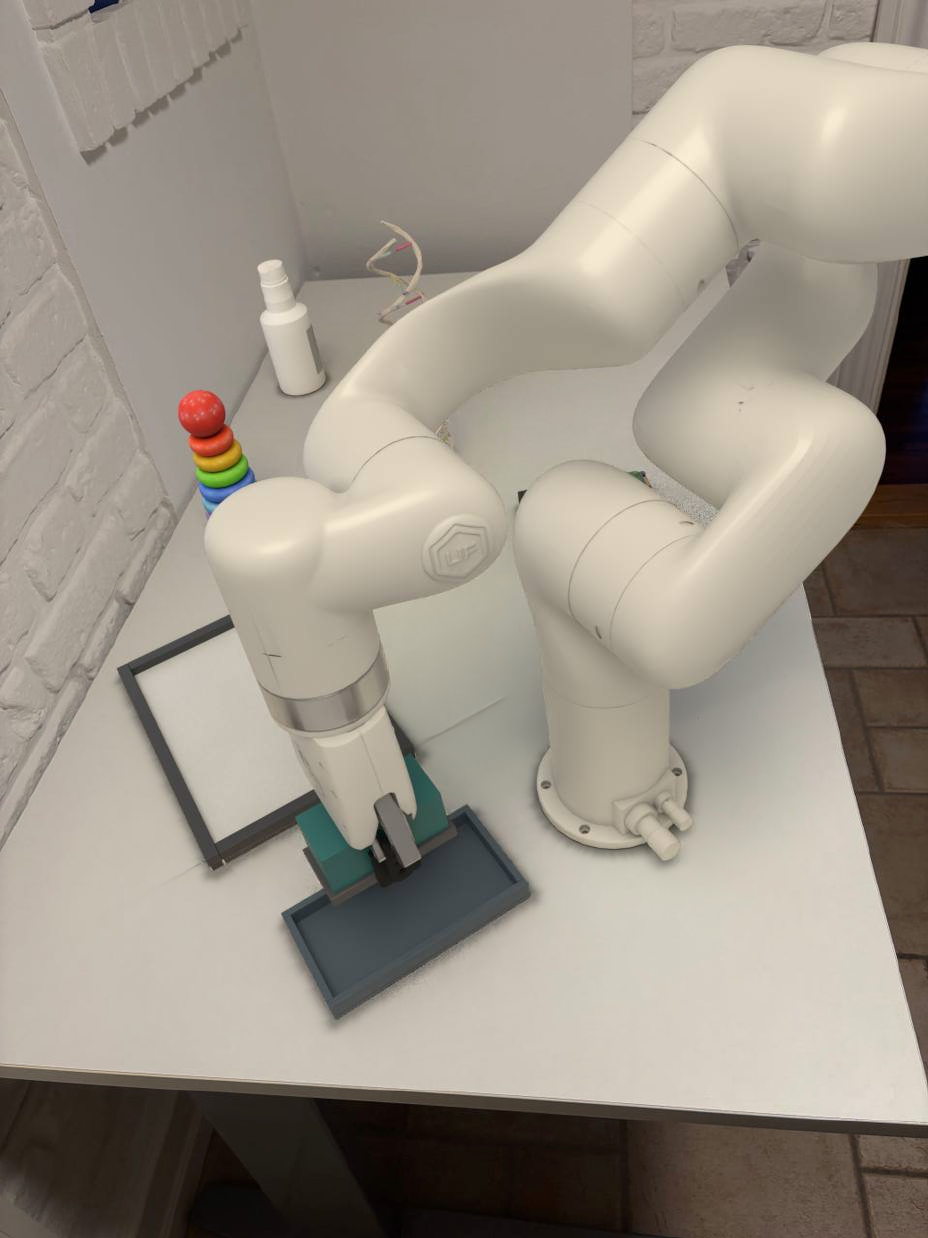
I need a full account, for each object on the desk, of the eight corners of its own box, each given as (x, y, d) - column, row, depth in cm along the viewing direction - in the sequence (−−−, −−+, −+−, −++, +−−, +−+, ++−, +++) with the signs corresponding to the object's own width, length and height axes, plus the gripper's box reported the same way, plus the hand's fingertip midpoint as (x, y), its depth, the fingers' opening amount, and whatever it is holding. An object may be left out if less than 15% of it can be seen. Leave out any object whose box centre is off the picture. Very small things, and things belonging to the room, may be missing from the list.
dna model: (466, 473, 118) (426, 230, 97) (417, 489, 117) (367, 247, 96) (448, 446, 123) (407, 210, 102) (401, 462, 122) (350, 226, 101)
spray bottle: (335, 376, 140) (304, 256, 128) (306, 399, 136) (272, 278, 124) (300, 368, 143) (267, 251, 131) (271, 391, 140) (234, 272, 127)
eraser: (334, 908, 66) (317, 868, 62) (305, 857, 69) (287, 816, 66) (458, 835, 69) (448, 793, 65) (424, 789, 72) (413, 747, 69)
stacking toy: (198, 541, 115) (141, 406, 102) (238, 502, 120) (188, 368, 107) (250, 554, 112) (197, 416, 99) (288, 514, 117) (243, 377, 104)
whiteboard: (416, 757, 86) (413, 745, 85) (212, 872, 81) (205, 860, 79) (295, 596, 105) (291, 584, 104) (122, 679, 99) (116, 668, 98)
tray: (530, 897, 75) (528, 883, 73) (335, 1020, 70) (329, 1008, 68) (470, 817, 81) (467, 803, 80) (287, 925, 76) (280, 913, 75)
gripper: (216, 623, 61) (289, 793, 73) (326, 800, 50) (390, 967, 62) (321, 574, 63) (374, 747, 76) (449, 732, 52) (487, 906, 64)
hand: (381, 844), depth 69 cm, fingers closed on eraser, 5 cm apart
